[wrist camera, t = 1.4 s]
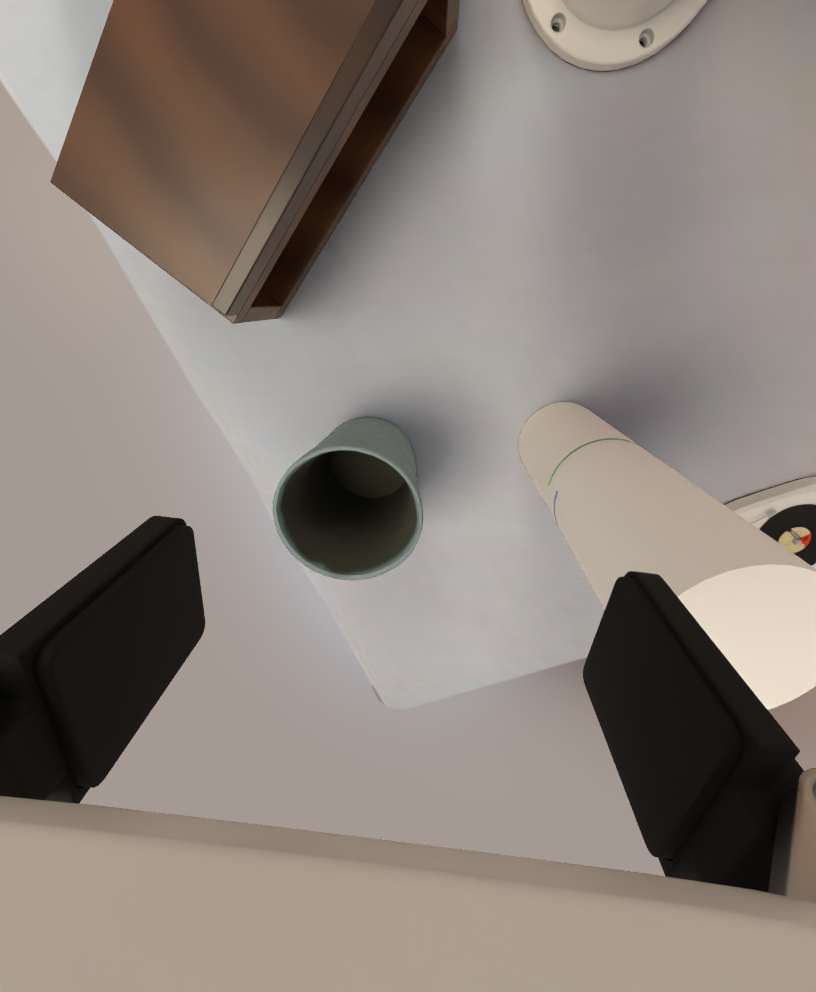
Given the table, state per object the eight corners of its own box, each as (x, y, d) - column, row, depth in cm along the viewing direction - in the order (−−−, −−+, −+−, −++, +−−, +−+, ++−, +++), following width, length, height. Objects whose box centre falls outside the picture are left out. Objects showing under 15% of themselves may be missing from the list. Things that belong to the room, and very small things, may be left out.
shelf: (300, -142, 25) (215, -428, 15) (457, 28, 28) (471, -123, 18) (145, 212, 33) (22, 173, 23) (279, 318, 35) (220, 325, 26)
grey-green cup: (308, 493, 42) (263, 561, 31) (326, 391, 38) (282, 428, 27) (409, 519, 42) (401, 595, 31) (438, 421, 38) (441, 469, 27)
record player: (643, 549, 39) (898, 468, 35) (629, 532, 42) (862, 456, 38) (667, 643, 43) (897, 581, 39) (652, 622, 46) (865, 562, 42)
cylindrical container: (516, 480, 40) (625, 716, 17) (520, 403, 37) (658, 566, 14) (595, 478, 40) (815, 718, 17) (605, 399, 37) (888, 562, 14)
